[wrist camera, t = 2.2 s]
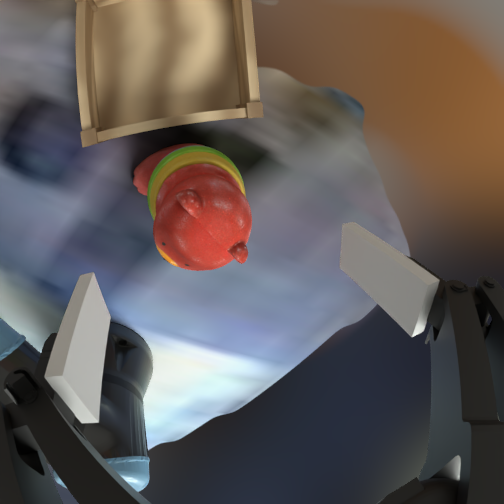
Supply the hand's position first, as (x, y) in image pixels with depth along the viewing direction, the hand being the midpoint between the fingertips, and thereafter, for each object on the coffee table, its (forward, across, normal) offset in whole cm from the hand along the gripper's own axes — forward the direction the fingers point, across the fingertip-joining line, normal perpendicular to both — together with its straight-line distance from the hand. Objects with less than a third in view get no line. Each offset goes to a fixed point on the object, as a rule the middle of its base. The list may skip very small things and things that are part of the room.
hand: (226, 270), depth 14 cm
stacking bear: (+22, 0, 0) cm, 22 cm away
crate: (+22, -1, +16) cm, 27 cm away
